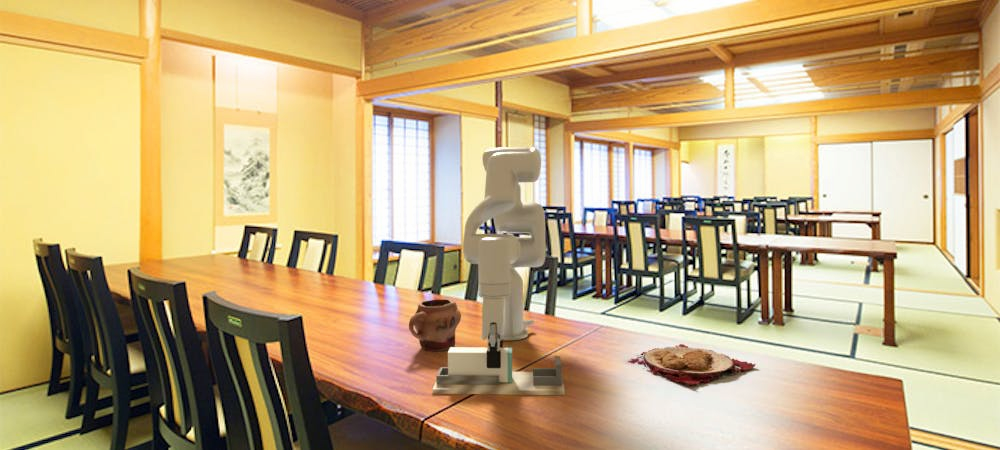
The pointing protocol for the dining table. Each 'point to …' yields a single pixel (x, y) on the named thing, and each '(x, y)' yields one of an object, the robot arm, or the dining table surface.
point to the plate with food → (690, 364)
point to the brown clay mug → (435, 324)
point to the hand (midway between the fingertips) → (495, 361)
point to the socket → (548, 375)
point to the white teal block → (478, 363)
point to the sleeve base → (491, 385)
